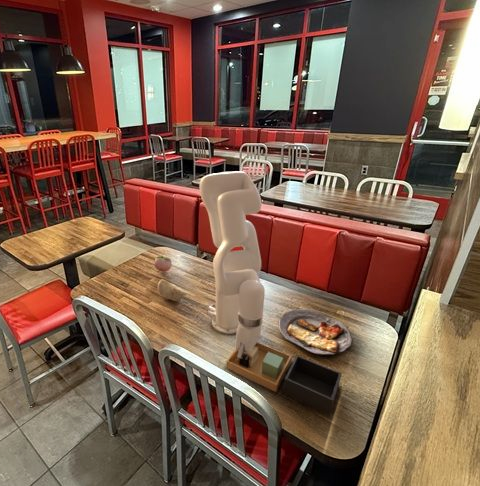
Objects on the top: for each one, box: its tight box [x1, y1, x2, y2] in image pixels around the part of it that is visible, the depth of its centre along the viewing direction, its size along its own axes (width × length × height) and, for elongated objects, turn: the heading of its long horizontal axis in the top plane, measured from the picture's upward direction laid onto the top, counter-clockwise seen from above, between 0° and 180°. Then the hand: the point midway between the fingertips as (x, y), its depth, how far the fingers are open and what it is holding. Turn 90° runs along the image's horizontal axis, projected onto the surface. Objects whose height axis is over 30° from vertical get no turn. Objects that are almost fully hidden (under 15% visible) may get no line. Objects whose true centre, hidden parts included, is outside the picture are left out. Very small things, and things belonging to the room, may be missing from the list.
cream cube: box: [238, 346, 258, 368], centre depth 105 cm, size 5×5×5 cm
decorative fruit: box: [153, 254, 173, 273], centre depth 162 cm, size 9×8×10 cm
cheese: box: [157, 278, 188, 302], centre depth 141 cm, size 15×7×15 cm
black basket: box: [282, 354, 343, 417], centre depth 93 cm, size 13×11×6 cm
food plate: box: [278, 308, 353, 356], centre depth 116 cm, size 25×23×4 cm
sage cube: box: [262, 352, 283, 379], centre depth 101 cm, size 5×5×5 cm
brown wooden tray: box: [225, 341, 293, 393], centre depth 104 cm, size 17×14×3 cm
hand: (247, 359), depth 106 cm, fingers closed on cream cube, 5 cm apart
